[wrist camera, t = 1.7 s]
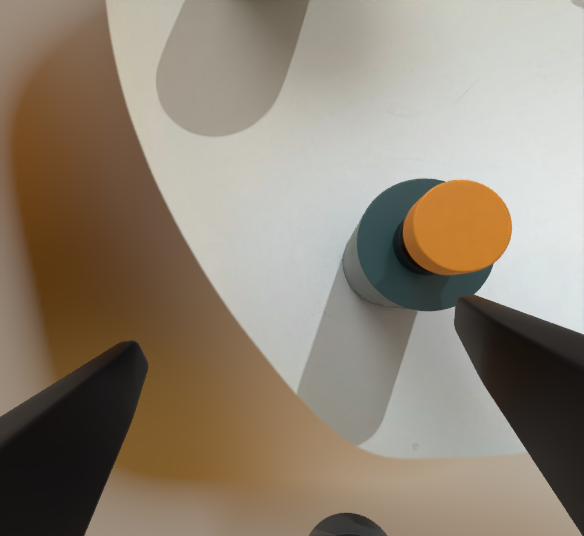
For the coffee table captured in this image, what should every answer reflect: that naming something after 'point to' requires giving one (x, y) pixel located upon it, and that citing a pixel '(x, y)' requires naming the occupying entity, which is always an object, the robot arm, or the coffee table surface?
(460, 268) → the orange short cylinder
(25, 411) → the robot arm
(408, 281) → the bottle
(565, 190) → the coffee table surface
